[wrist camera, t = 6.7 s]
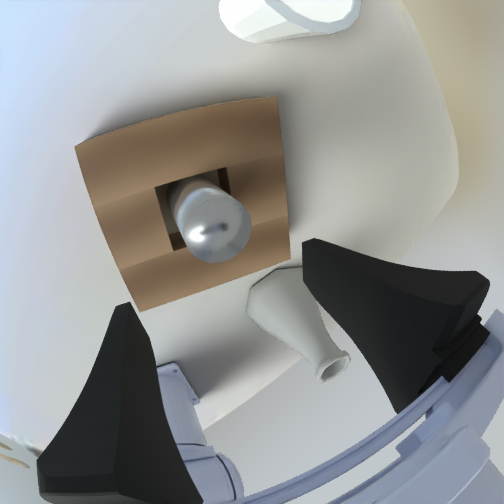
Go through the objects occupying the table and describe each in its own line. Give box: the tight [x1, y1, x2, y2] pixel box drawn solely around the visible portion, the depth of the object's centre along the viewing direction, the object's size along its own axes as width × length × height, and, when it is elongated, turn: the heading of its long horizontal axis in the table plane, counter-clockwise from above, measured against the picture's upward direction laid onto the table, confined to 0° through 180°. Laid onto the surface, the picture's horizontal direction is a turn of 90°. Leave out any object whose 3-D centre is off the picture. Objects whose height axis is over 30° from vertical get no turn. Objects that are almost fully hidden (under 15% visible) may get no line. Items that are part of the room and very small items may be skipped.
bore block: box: [75, 97, 291, 312], centre depth 18 cm, size 12×12×3 cm
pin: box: [166, 174, 252, 263], centre depth 15 cm, size 3×3×7 cm
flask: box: [246, 267, 351, 383], centre depth 23 cm, size 7×7×10 cm
